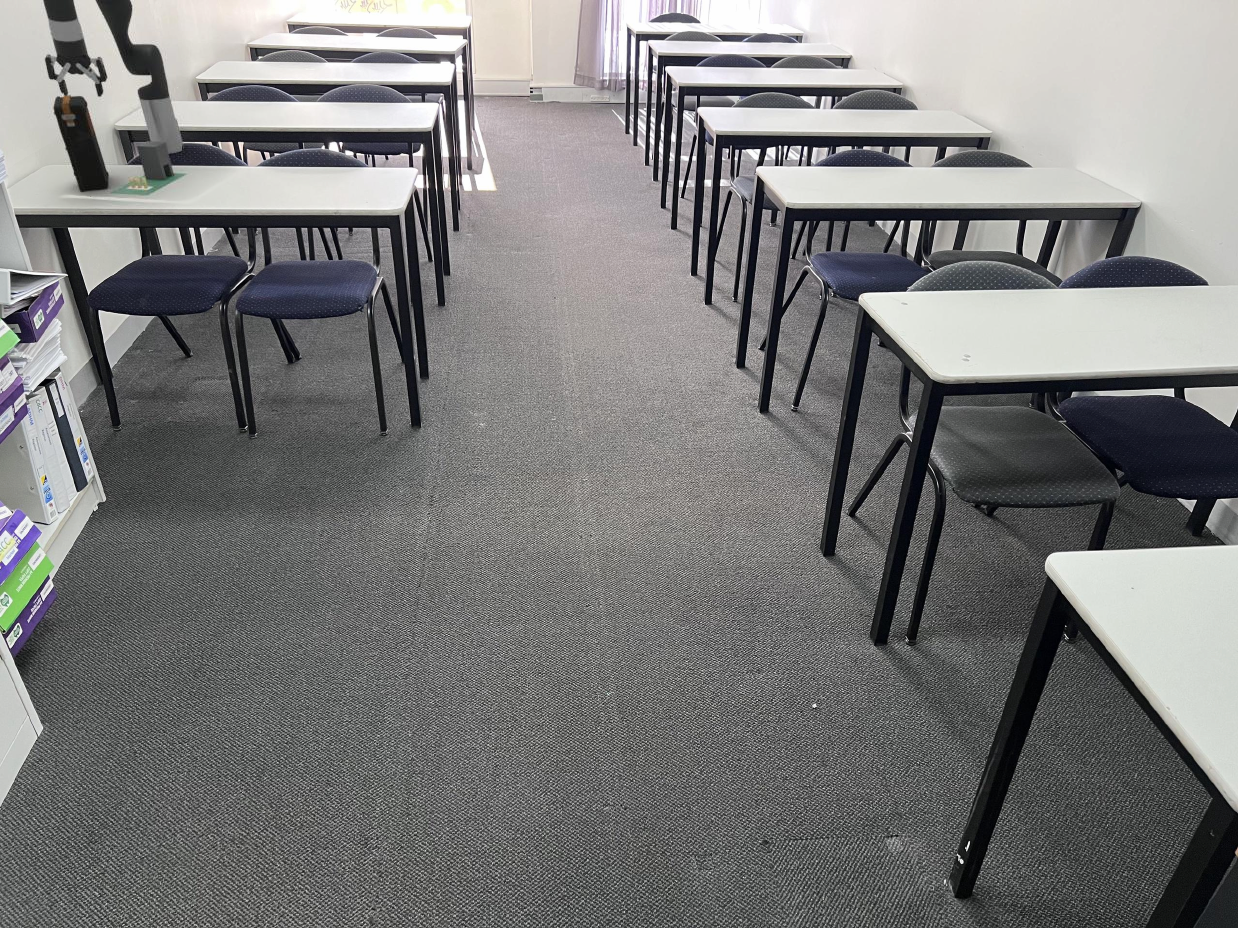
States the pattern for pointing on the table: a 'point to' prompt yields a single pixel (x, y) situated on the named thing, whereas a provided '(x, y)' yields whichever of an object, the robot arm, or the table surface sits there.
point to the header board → (145, 185)
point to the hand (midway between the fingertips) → (83, 95)
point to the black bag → (81, 142)
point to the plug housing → (155, 160)
